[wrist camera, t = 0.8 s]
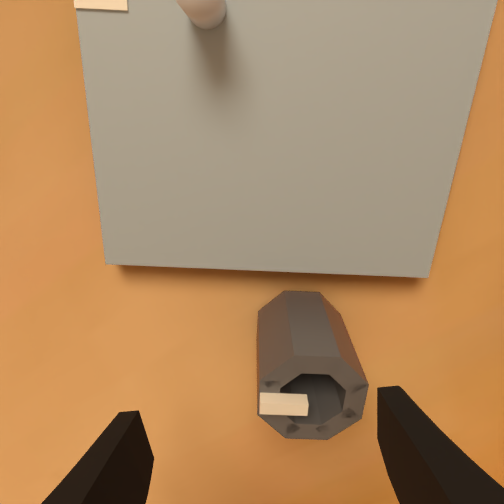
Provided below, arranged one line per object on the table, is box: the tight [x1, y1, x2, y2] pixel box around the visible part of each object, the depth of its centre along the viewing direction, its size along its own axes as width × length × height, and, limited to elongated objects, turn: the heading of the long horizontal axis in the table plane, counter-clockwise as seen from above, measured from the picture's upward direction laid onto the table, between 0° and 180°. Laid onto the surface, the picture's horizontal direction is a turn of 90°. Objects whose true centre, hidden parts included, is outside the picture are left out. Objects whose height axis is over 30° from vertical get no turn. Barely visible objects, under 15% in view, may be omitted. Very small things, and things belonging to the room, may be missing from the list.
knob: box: [257, 291, 369, 440], centre depth 18 cm, size 5×5×6 cm
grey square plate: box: [74, 0, 498, 278], centre depth 14 cm, size 16×18×4 cm
